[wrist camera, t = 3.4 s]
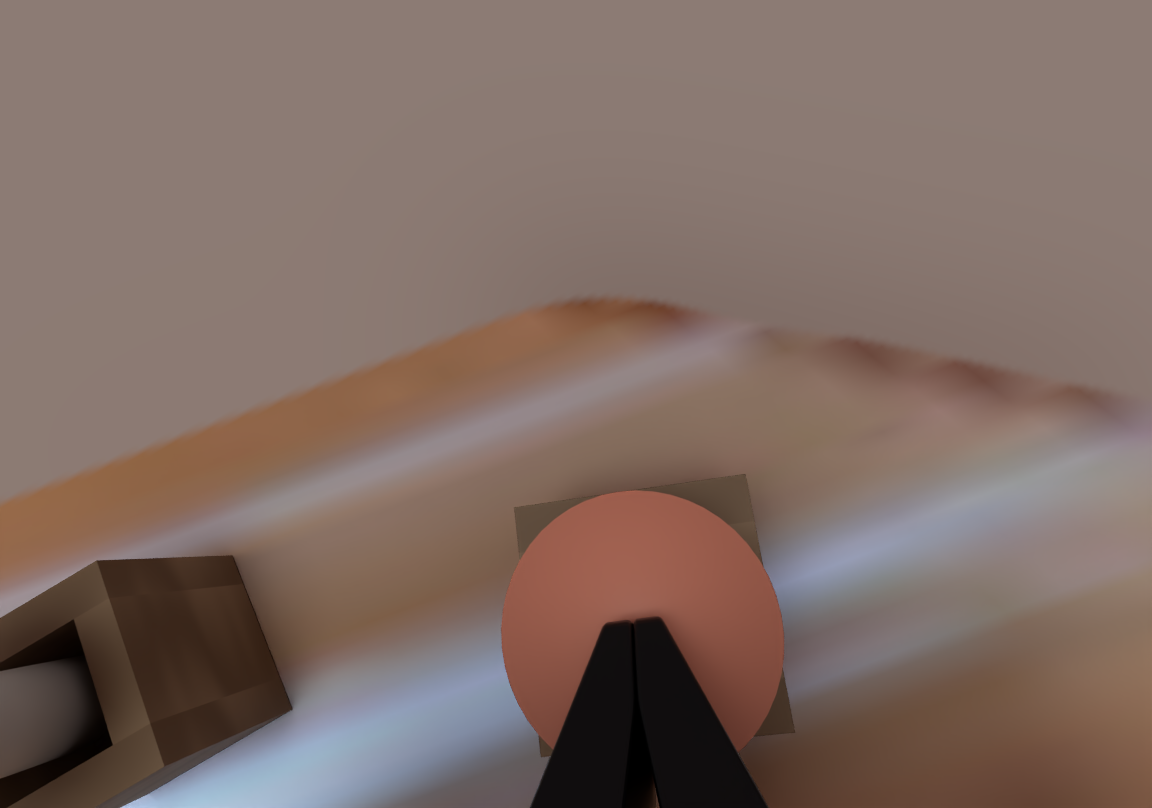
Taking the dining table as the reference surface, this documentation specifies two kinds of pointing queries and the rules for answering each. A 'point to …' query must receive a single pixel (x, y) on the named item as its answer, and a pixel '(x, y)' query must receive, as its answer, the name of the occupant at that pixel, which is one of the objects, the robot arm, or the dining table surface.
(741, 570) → the red rounded knob
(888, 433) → the dining table surface
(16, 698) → the ivory key
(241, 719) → the ivory key housing
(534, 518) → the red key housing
